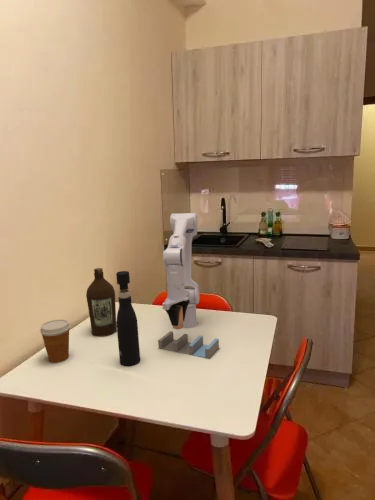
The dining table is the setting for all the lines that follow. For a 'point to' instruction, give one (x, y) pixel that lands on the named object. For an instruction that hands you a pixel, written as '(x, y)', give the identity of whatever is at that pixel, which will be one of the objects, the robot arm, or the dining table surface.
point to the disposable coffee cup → (56, 339)
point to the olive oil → (101, 305)
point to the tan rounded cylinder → (180, 319)
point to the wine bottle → (127, 324)
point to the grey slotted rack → (188, 345)
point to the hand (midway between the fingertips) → (178, 323)
